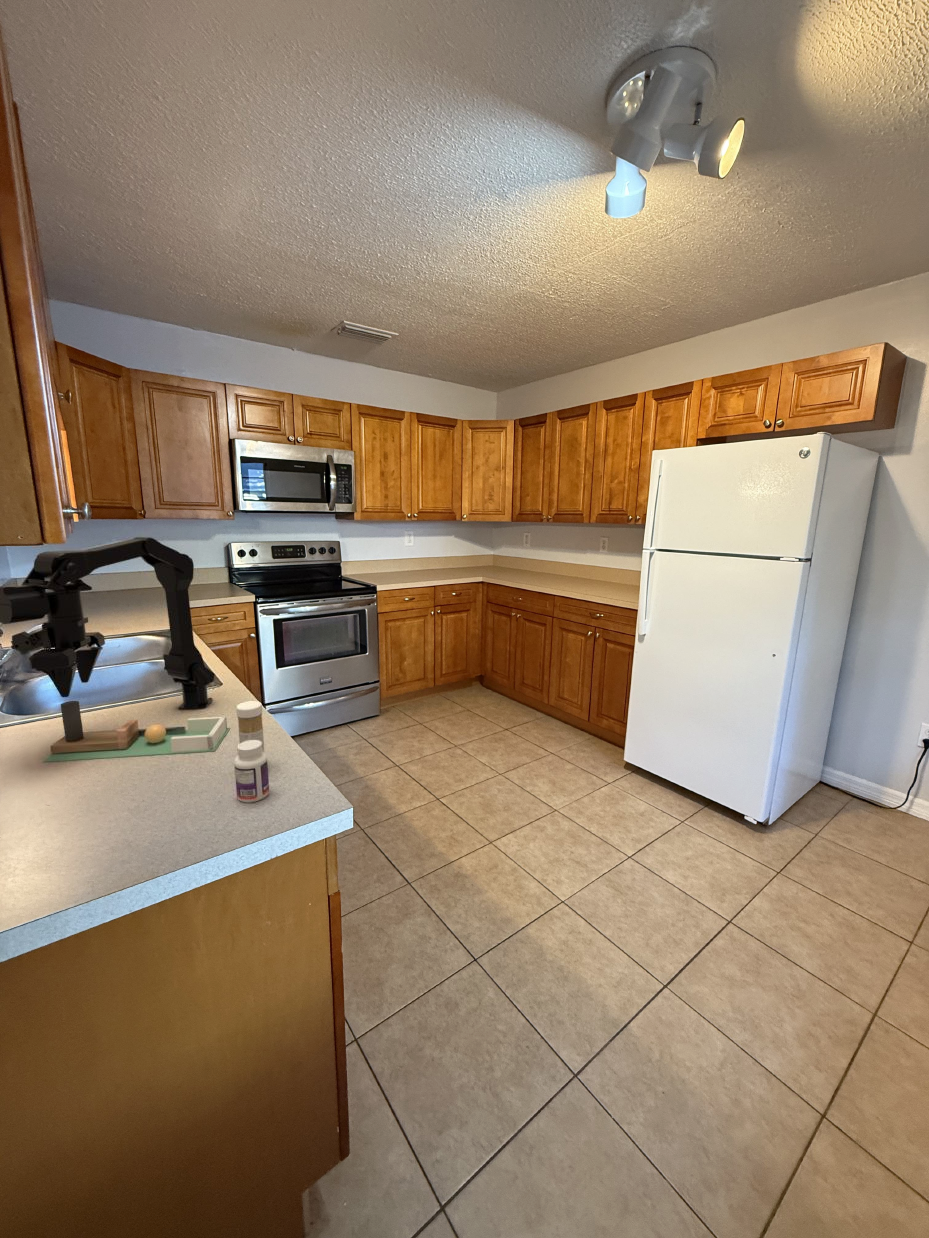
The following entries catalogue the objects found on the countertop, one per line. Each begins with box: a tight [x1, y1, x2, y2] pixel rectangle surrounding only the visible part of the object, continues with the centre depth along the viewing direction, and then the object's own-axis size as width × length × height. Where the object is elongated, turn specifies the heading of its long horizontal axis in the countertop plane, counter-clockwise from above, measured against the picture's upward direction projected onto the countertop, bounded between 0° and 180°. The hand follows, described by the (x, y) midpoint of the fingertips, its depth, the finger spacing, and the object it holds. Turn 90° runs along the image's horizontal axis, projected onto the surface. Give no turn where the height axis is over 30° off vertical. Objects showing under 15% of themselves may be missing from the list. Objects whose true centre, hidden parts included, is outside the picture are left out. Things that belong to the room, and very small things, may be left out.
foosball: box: [145, 724, 166, 743], centre depth 108 cm, size 4×4×4 cm
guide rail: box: [83, 726, 187, 737], centre depth 111 cm, size 1×24×2 cm, turn 101°
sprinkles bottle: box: [236, 700, 265, 753], centre depth 97 cm, size 5×5×14 cm
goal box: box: [171, 716, 228, 752], centre depth 110 cm, size 11×8×3 cm
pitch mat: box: [41, 727, 231, 763], centre depth 108 cm, size 12×32×1 cm, turn 101°
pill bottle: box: [233, 740, 270, 803], centre depth 88 cm, size 5×5×10 cm
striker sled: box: [49, 700, 140, 754], centre depth 105 cm, size 6×14×10 cm, turn 101°
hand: (75, 689), depth 103 cm, fingers open, 9 cm apart
